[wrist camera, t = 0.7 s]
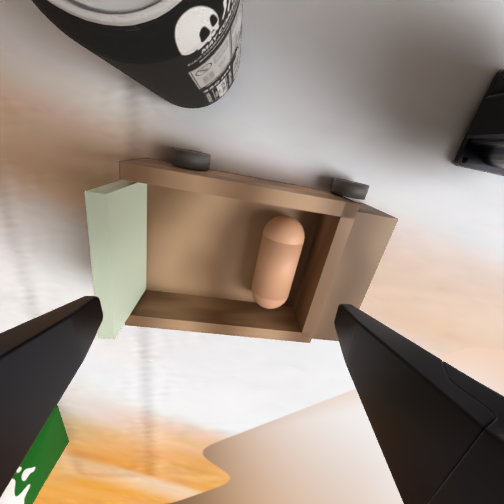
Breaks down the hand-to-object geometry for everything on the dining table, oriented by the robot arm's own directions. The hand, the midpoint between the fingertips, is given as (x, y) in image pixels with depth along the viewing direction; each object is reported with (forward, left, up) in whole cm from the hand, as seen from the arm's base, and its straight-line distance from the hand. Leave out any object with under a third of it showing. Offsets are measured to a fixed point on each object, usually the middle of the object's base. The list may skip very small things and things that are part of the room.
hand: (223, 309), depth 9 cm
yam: (-4, +2, -11) cm, 12 cm away
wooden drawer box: (-2, +2, -12) cm, 13 cm away
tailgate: (+7, +2, -11) cm, 13 cm away
